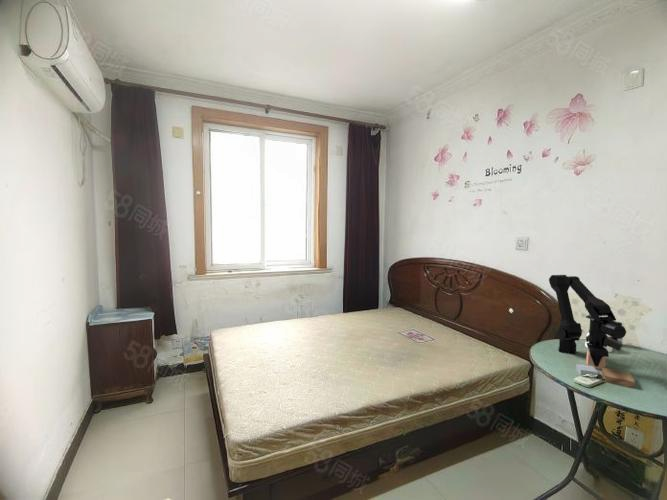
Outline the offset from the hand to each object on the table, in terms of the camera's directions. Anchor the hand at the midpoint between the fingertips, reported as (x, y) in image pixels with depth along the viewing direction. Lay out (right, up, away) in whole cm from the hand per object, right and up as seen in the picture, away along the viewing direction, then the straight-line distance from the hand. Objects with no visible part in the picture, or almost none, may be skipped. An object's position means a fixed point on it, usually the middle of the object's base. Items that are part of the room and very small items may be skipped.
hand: (595, 363), depth 142 cm
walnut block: (-1, -3, -12) cm, 13 cm away
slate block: (-10, -2, -7) cm, 12 cm away
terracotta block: (0, -1, 0) cm, 1 cm away
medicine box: (+29, +1, +24) cm, 37 cm away
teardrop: (+19, +1, +20) cm, 27 cm away
